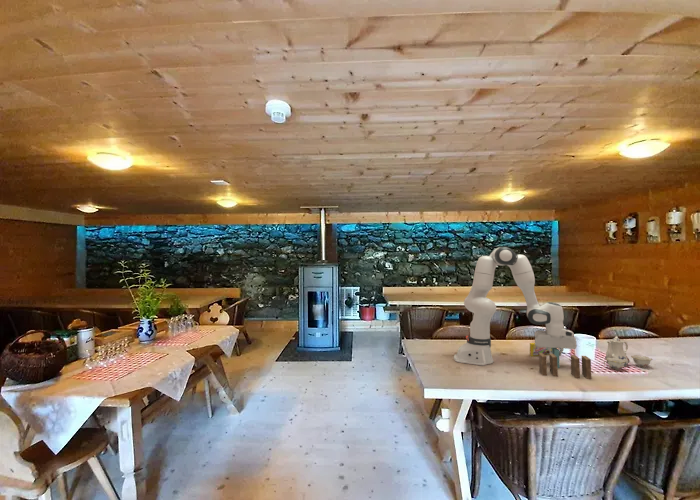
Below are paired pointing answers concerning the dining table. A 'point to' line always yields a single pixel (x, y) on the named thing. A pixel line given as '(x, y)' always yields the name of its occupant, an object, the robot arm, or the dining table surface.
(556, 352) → the placed domino
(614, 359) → the chinaware
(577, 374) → the domino
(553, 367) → the domino
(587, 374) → the domino
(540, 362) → the domino
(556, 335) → the robot arm
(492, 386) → the dining table surface
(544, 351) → the candy box
